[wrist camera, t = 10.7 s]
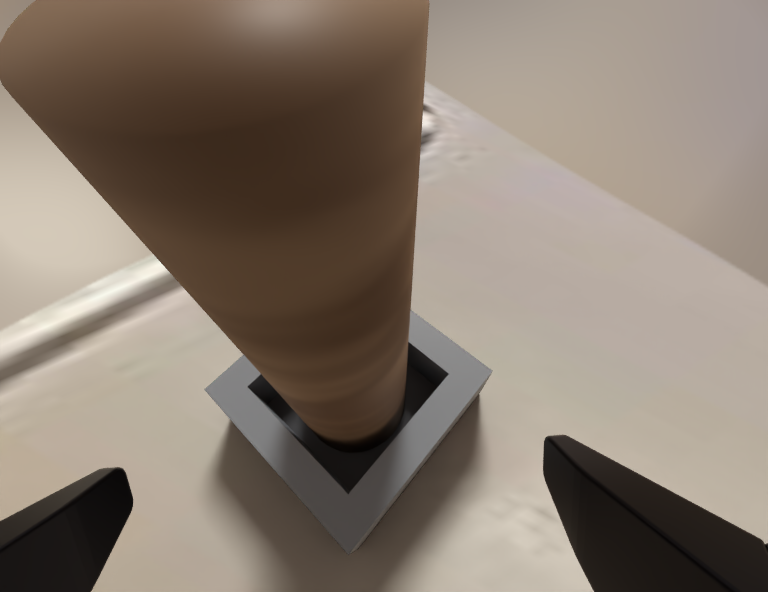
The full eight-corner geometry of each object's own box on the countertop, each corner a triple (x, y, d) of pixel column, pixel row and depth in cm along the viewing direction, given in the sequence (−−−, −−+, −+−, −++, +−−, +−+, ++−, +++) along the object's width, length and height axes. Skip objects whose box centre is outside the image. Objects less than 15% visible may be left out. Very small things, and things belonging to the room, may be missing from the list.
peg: (356, 476, 15) (144, 221, 2) (285, 404, 17) (-66, 21, 4) (424, 395, 17) (512, -13, 4) (354, 336, 19) (257, -91, 6)
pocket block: (358, 548, 15) (348, 554, 12) (233, 408, 17) (204, 389, 15) (479, 393, 17) (492, 370, 15) (354, 295, 20) (347, 262, 18)
